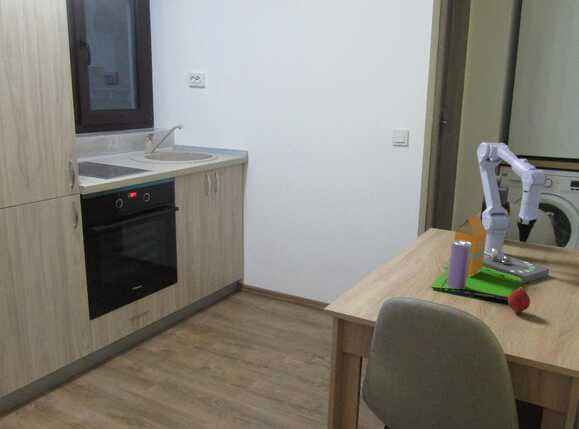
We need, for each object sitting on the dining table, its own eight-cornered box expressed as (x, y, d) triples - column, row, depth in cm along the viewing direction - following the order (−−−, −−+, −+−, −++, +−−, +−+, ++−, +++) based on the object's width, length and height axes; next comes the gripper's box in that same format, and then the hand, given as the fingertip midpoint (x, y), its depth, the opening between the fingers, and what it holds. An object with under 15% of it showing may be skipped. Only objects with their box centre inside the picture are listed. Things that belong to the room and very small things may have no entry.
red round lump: (502, 308, 155) (506, 282, 153) (521, 308, 156) (525, 283, 154) (512, 316, 150) (516, 290, 148) (531, 317, 150) (536, 291, 148)
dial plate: (474, 266, 192) (475, 259, 192) (500, 260, 202) (501, 253, 201) (522, 283, 177) (524, 276, 177) (548, 275, 187) (549, 268, 186)
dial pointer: (489, 260, 191) (491, 249, 190) (492, 258, 194) (494, 247, 193) (529, 269, 183) (531, 258, 182) (532, 266, 187) (534, 255, 186)
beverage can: (455, 291, 167) (462, 246, 163) (442, 284, 172) (448, 240, 168) (469, 289, 169) (476, 244, 166) (456, 282, 175) (462, 239, 171)
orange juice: (481, 272, 187) (489, 217, 182) (470, 277, 180) (479, 220, 176) (460, 266, 192) (468, 212, 187) (449, 271, 185) (457, 216, 181)
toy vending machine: (504, 244, 223) (514, 179, 217) (476, 239, 228) (486, 175, 222) (506, 239, 231) (516, 176, 225) (479, 235, 236) (488, 173, 229)
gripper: (540, 208, 182) (534, 246, 185) (543, 201, 194) (537, 237, 197) (518, 205, 185) (512, 242, 188) (523, 198, 197) (517, 233, 200)
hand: (523, 239), depth 193 cm, fingers open, 7 cm apart
